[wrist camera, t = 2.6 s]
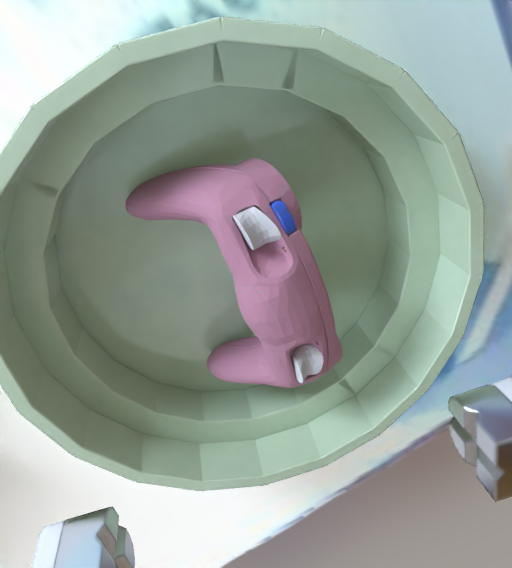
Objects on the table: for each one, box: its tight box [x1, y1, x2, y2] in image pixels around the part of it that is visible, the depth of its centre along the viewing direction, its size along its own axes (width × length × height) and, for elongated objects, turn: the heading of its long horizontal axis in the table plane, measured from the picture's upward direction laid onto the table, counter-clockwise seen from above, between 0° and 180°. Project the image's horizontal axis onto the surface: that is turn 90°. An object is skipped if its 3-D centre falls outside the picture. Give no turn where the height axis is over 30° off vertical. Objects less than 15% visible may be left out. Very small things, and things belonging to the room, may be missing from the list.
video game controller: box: [125, 158, 342, 388], centre depth 19 cm, size 10×5×7 cm, turn 20°
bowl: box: [0, 16, 484, 491], centre depth 19 cm, size 18×18×5 cm
